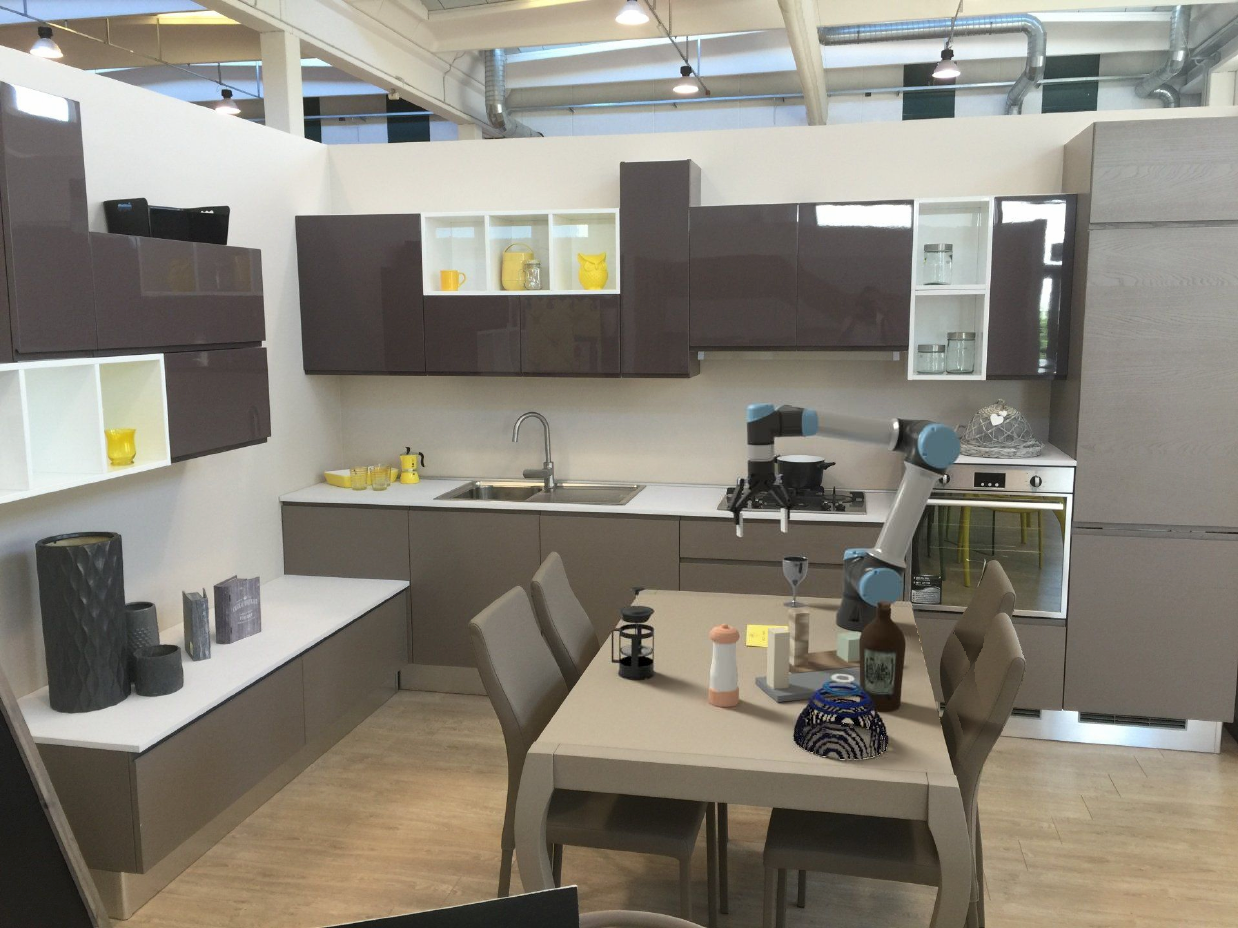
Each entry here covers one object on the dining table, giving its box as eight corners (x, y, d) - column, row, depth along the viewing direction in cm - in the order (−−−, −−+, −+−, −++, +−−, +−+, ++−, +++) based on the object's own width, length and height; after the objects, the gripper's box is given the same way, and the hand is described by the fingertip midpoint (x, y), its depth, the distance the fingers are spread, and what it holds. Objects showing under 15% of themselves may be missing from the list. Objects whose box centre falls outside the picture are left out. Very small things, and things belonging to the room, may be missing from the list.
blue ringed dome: (803, 717, 232) (805, 657, 230) (892, 730, 225) (895, 668, 223) (784, 751, 214) (786, 686, 212) (881, 767, 207) (883, 700, 205)
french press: (658, 668, 264) (659, 583, 261) (655, 680, 255) (656, 592, 252) (614, 666, 266) (614, 581, 262) (609, 678, 256) (609, 591, 253)
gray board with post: (862, 671, 261) (864, 614, 259) (888, 689, 249) (891, 628, 247) (755, 683, 253) (756, 623, 251) (777, 701, 241) (779, 639, 238)
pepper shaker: (702, 698, 244) (704, 621, 241) (729, 693, 246) (730, 618, 244) (717, 708, 237) (718, 630, 234) (744, 704, 240) (746, 626, 237)
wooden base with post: (876, 651, 277) (878, 596, 275) (902, 666, 265) (904, 609, 263) (776, 661, 269) (777, 605, 267) (798, 677, 257) (799, 619, 255)
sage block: (856, 652, 272) (857, 631, 271) (868, 659, 266) (869, 638, 265) (836, 654, 270) (837, 633, 269) (847, 662, 264) (848, 640, 263)
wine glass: (805, 601, 327) (807, 556, 325) (807, 608, 319) (809, 562, 317) (780, 600, 328) (782, 555, 326) (782, 607, 320) (783, 561, 318)
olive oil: (860, 693, 247) (863, 594, 243) (904, 699, 243) (909, 598, 239) (854, 709, 237) (857, 606, 233) (900, 715, 233) (905, 610, 230)
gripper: (795, 454, 288) (796, 527, 291) (714, 460, 281) (715, 535, 284) (807, 457, 281) (808, 532, 284) (724, 464, 274) (726, 540, 277)
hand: (762, 534), depth 284 cm, fingers open, 13 cm apart
